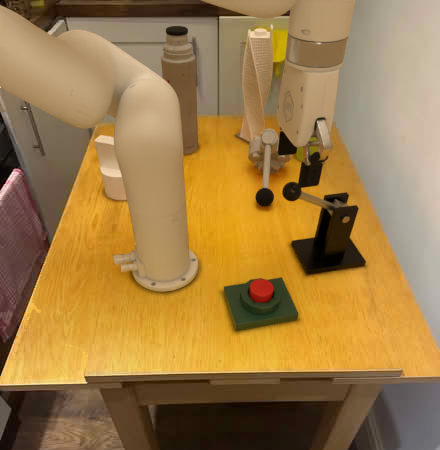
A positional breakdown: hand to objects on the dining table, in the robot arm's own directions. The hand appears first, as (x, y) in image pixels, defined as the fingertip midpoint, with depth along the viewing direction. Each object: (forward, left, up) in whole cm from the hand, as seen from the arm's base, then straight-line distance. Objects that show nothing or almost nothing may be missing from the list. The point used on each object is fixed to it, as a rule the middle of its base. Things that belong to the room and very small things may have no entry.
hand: (296, 169), depth 65 cm
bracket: (+9, 0, -20) cm, 22 cm away
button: (-8, -10, -17) cm, 21 cm away
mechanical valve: (+5, +27, -21) cm, 34 cm away
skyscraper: (+8, +50, -21) cm, 55 cm away
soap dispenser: (+19, +37, -21) cm, 47 cm away
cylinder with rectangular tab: (-29, +32, -21) cm, 48 cm away
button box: (-8, -10, -20) cm, 24 cm away
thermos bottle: (-12, +49, -21) cm, 54 cm away
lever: (+4, 0, -8) cm, 9 cm away
